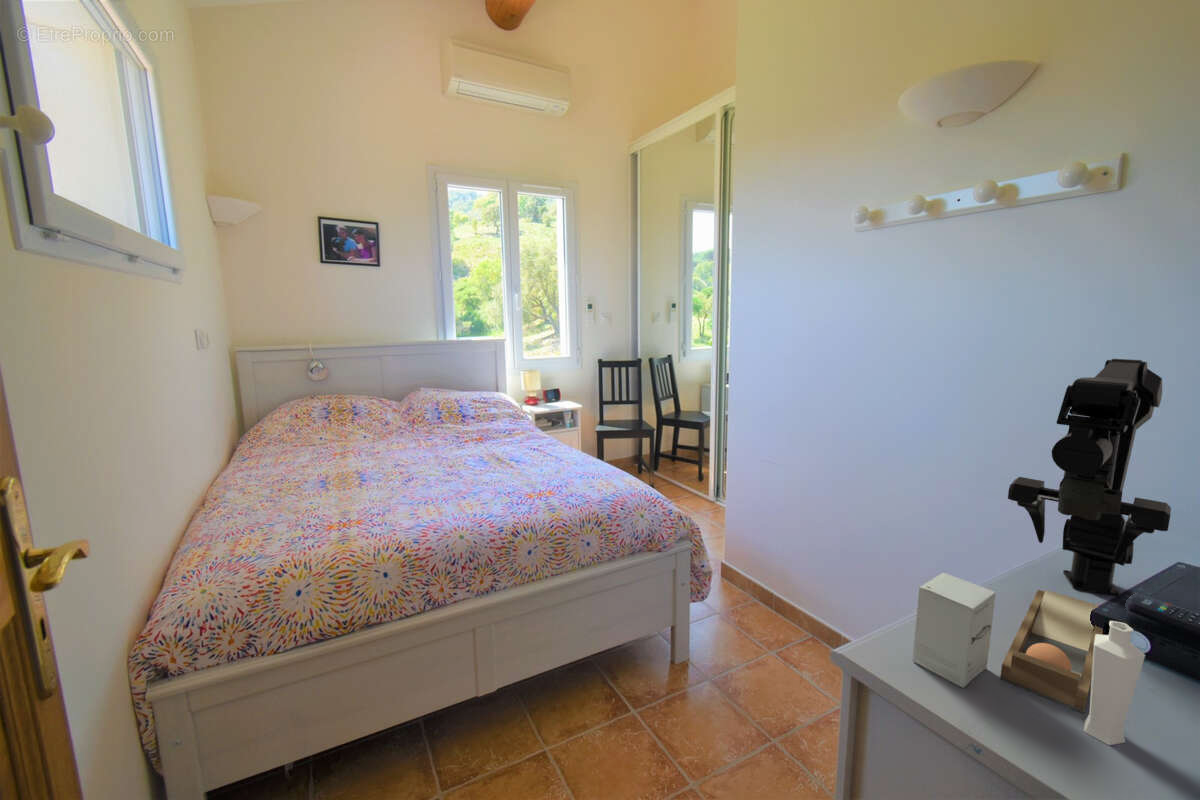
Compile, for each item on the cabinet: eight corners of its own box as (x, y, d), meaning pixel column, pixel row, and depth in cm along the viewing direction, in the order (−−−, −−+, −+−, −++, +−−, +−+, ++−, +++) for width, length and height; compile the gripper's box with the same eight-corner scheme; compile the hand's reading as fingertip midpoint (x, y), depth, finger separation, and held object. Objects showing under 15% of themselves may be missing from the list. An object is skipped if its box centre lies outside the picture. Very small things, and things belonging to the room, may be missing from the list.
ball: (1038, 653, 79) (1030, 683, 76) (1023, 632, 78) (1014, 661, 75) (1081, 662, 74) (1074, 694, 72) (1065, 639, 73) (1057, 671, 71)
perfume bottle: (1085, 740, 65) (1102, 632, 63) (1073, 715, 69) (1089, 612, 66) (1135, 754, 63) (1155, 642, 60) (1120, 727, 67) (1139, 621, 64)
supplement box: (964, 690, 74) (973, 609, 72) (910, 661, 80) (916, 585, 78) (988, 669, 78) (997, 591, 76) (935, 642, 84) (942, 570, 82)
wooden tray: (1036, 603, 94) (1039, 579, 93) (1105, 624, 87) (1109, 599, 86) (1000, 680, 76) (1003, 652, 75) (1083, 715, 70) (1088, 684, 69)
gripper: (1005, 459, 85) (995, 549, 88) (1176, 487, 71) (1157, 592, 74) (1020, 444, 92) (1010, 528, 95) (1178, 466, 78) (1160, 563, 81)
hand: (1077, 550), depth 86 cm, fingers open, 9 cm apart
